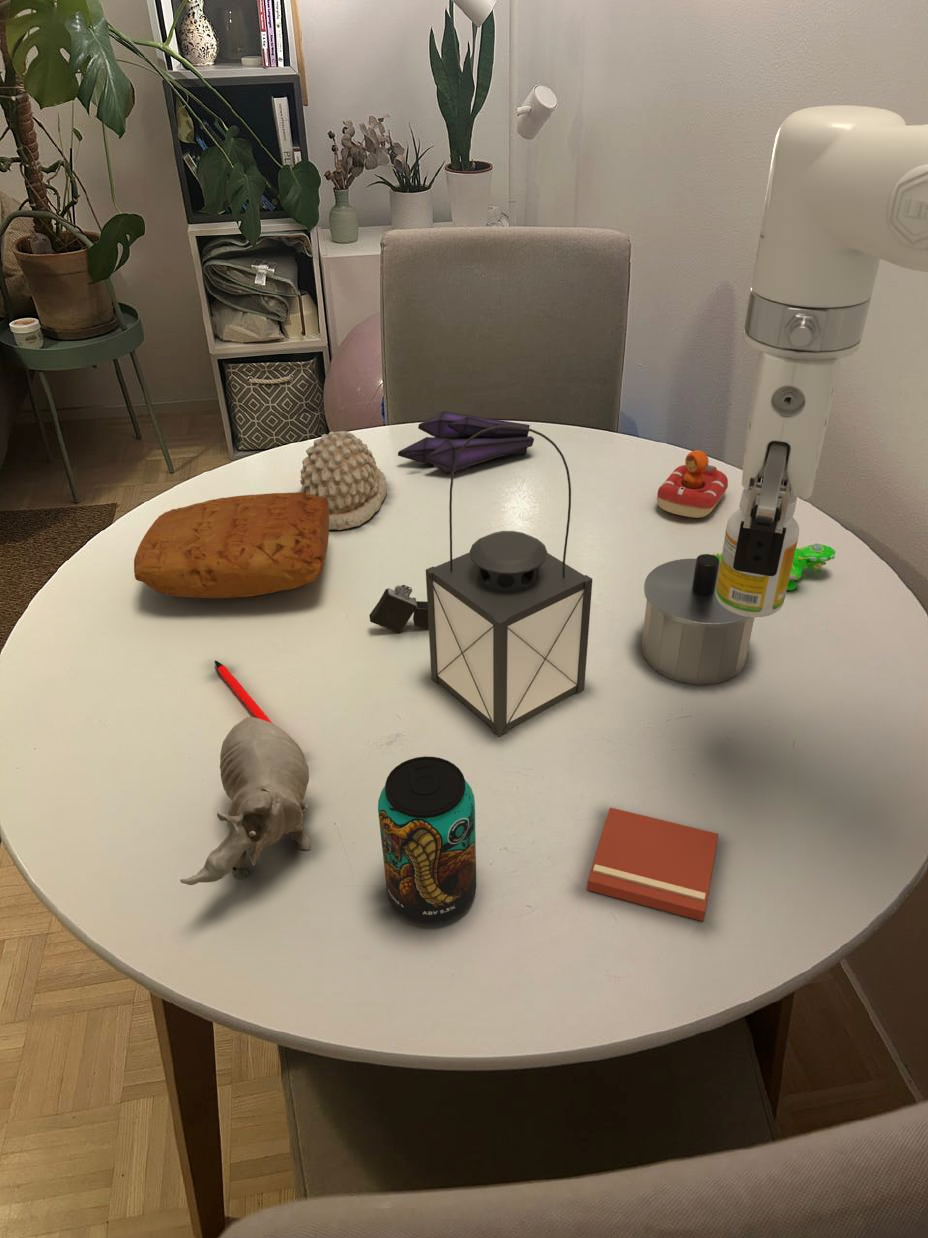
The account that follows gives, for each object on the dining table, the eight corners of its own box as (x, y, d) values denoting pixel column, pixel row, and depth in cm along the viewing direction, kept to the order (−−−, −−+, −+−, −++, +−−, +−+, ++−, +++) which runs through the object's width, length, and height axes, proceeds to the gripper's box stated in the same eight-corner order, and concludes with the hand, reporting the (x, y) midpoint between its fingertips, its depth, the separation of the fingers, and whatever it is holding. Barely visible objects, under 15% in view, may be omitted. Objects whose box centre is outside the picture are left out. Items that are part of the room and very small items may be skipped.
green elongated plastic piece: (842, 587, 105) (851, 555, 102) (692, 604, 103) (697, 572, 100) (816, 557, 110) (823, 526, 108) (672, 572, 108) (676, 541, 106)
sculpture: (395, 473, 130) (390, 406, 125) (373, 533, 117) (367, 462, 111) (313, 470, 132) (305, 404, 126) (282, 529, 118) (271, 459, 112)
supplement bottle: (762, 577, 77) (784, 473, 71) (795, 613, 73) (821, 505, 67) (703, 587, 76) (720, 482, 70) (733, 623, 72) (754, 515, 66)
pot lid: (766, 577, 94) (774, 539, 92) (755, 642, 86) (764, 602, 83) (654, 559, 98) (658, 522, 95) (633, 620, 89) (637, 580, 86)
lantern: (585, 690, 91) (606, 428, 75) (499, 738, 86) (500, 467, 69) (513, 637, 99) (518, 388, 82) (429, 679, 93) (416, 421, 77)
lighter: (431, 635, 103) (454, 601, 101) (433, 646, 101) (457, 612, 99) (368, 611, 100) (391, 575, 97) (370, 622, 98) (393, 585, 96)
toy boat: (647, 516, 119) (653, 463, 114) (677, 480, 127) (683, 429, 123) (704, 530, 116) (712, 476, 111) (730, 491, 124) (739, 440, 119)
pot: (750, 633, 98) (762, 574, 94) (739, 694, 90) (752, 633, 86) (651, 615, 101) (658, 557, 97) (633, 672, 93) (639, 613, 89)
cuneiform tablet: (343, 539, 116) (336, 482, 111) (324, 618, 102) (316, 557, 97) (170, 541, 116) (157, 484, 112) (129, 619, 103) (111, 559, 98)
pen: (297, 770, 83) (295, 761, 82) (211, 665, 95) (209, 657, 95) (306, 766, 83) (304, 757, 82) (219, 662, 96) (217, 654, 95)
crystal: (527, 398, 135) (393, 400, 132) (546, 437, 127) (404, 441, 123) (521, 440, 140) (391, 443, 136) (539, 481, 132) (402, 486, 128)
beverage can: (391, 935, 69) (379, 828, 62) (383, 862, 74) (372, 756, 67) (483, 922, 70) (482, 814, 62) (468, 850, 75) (466, 744, 68)
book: (716, 843, 75) (719, 831, 74) (703, 921, 69) (705, 909, 68) (608, 816, 78) (610, 804, 77) (586, 890, 72) (587, 878, 71)
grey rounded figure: (333, 730, 83) (285, 691, 69) (333, 886, 79) (282, 879, 65) (250, 735, 84) (186, 698, 70) (246, 890, 80) (176, 885, 66)
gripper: (862, 370, 53) (801, 621, 64) (866, 287, 66) (814, 507, 77) (731, 357, 55) (692, 601, 66) (759, 279, 68) (723, 494, 79)
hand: (758, 548), depth 71 cm, fingers closed on supplement bottle, 5 cm apart
